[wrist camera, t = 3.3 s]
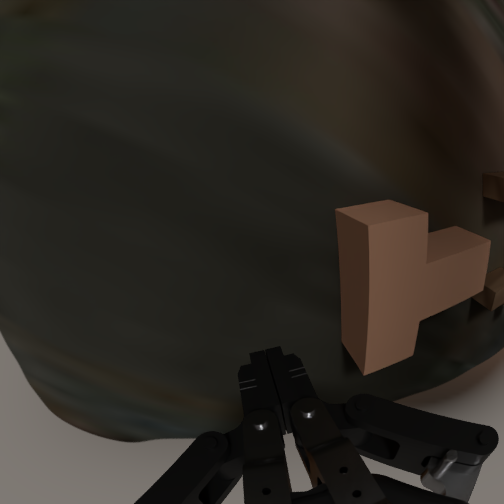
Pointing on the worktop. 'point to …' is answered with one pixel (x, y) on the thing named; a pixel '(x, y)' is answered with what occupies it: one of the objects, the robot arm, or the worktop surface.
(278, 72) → the worktop surface
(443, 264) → the T block
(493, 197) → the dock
